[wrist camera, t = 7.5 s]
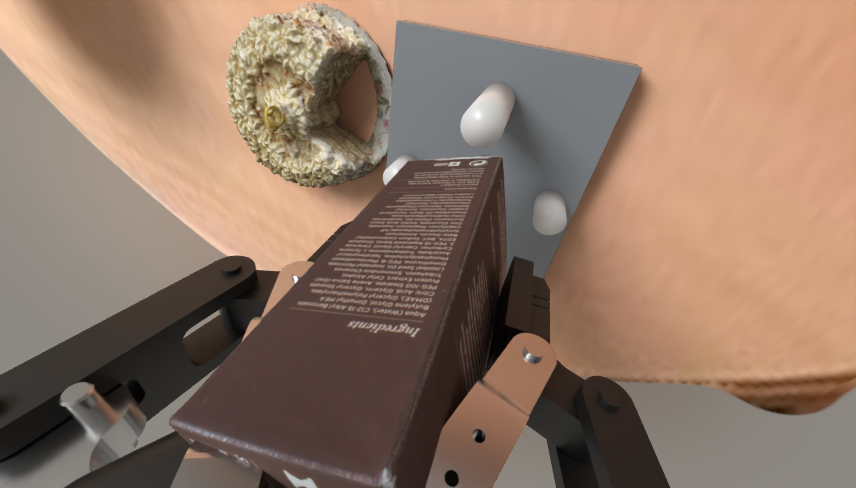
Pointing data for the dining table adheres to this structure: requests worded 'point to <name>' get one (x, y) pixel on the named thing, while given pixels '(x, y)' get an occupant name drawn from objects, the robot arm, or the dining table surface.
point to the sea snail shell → (305, 95)
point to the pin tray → (507, 121)
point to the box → (369, 339)
